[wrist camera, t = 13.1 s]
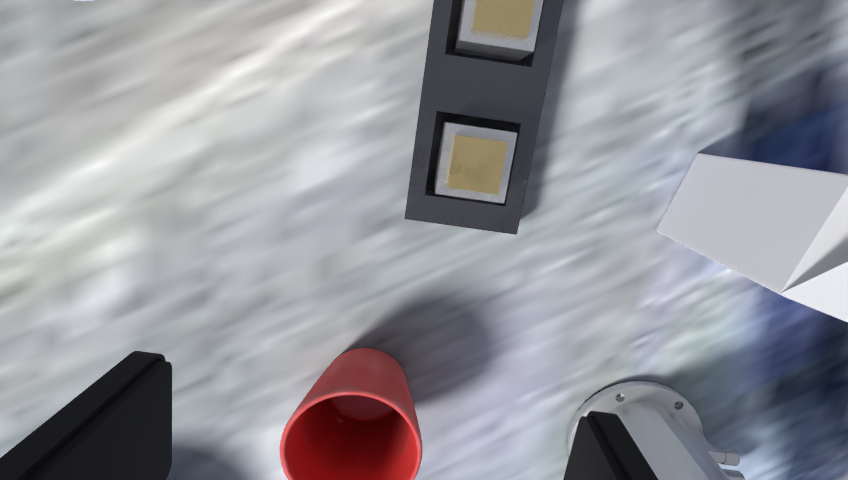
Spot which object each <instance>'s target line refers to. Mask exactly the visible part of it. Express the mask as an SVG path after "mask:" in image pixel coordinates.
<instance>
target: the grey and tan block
mask: <svg viewBox="0 0 848 480" xmlns="http://www.w3.org/2000/svg"><path fill="white" fill-rule="evenodd" d="M542 5H543V0H462V5H461V12H460V18H459V25H458V32H457V38H456V45H455V52H459V53H466V54H472V55H479V56H485V57H492V58H499V59H505V60H512V61H519V60H520V59H522V58H524V57H525V56H527V55H529V54H530V53H532V52H534V47H535V42H536V37H537V31H538V26H539V21H540V16H541V10H542Z"/></svg>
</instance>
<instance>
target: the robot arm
mask: <svg viewBox="0 0 848 480" xmlns="http://www.w3.org/2000/svg"><path fill="white" fill-rule="evenodd" d="M567 450H568V455H569V460H568V464H567V468H566V471H565V475H564V479H563V480H745V478H744V476H743V474H742V473H741V472H739V471H735V470H727V469H722V468H721V467H720V466H719V465H718V464H717V463H721V464H724V465H732V466H737V465H738V464H739V462H740V458H739V454H738V452H737V451H736V450H733V449H726V448H713V446H712V445H710V443H709V442H708V441H707V440H706V439H705V437H704V436H703V427H702V424H701V420H700V418H699V416H698V414H697V412H696V411H695V409H694V408H693V407H692V405H691V404H690V403H689V402H688V401H687V400H686V399H685V398H684V397H683V396H682V395H681V394H679V393H678V392H677V391H675V390H673V389H671V388H669V387H668V386H665V385H661V384H658V383H654V382H647V381H630V382H625V383H621V384H616V385H614V386H611V387H609V388H606V389H604V390H602V391H601V392H599V393H597V394H595V395H594V396H593V397H591V398H590V399H589V400H588V401H587V402H585V403H584V404H583V406H582V407H581V408H580V409H579V410H578V412H577V413H576V415H575V416H574V418H573V420H572V422H571V424H570V427H569V431H568V435H567ZM171 463H172V365H171V363H170V362H166V361H165V357H164V356H163V355H162V354H156V353H149V352H141V351H134V352H132V353H131V354H129V355H128V356H127V357H126V358H124V359H123V360H122V361H121V362H119V363H118V364H117V365H116V366H115V367H113V368H112V369H111V370H110V371H108V372H107V373H106V374H105V375H103V376H102V377H101V378H100V379H98V380H97V381H96V382H95V383H93V384H92V385H91V386H90V387H88V388H87V389H86V390H85V391H83V392H82V393H81V394H80V395H78V396H77V397H76V398H75V399H73V400H72V401H71V402H70V403H68V404H67V405H66V406H65V407H63V408H62V409H61V410H60V411H58V412H57V413H56V414H55V415H53V416H52V417H51V418H50V419H48V420H47V421H46V422H45V423H43V424H42V425H41V426H40V427H38V428H37V429H36V430H35V431H33V432H32V433H31V434H30V435H28V436H27V437H26V438H25V439H24V440H22V441H21V442H20V443H19V444H17V445H16V446H15V447H14V448H12V449H11V450H10V451H9V452H7V453H6V454H5V455H4V456H2V457H1V458H0V480H166V478H167V476H168V474H169V471H170V468H171Z"/></svg>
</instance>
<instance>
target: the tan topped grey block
mask: <svg viewBox="0 0 848 480" xmlns="http://www.w3.org/2000/svg"><path fill="white" fill-rule="evenodd" d="M516 138H517V133H515V132H510V131H506V130H500V129H493V128H486V127H479V126H472V125H465V124H459V123H452V122H445V121H443V127H442V134H441V141H440V148H439V154H438V161H437V168H436V175H435V181H434V183H435V194H441V195H448V196H455V197H462V198H469V199H476V200H483V201H490V202H497V203H504V201H505V196H506V191H507V185H508V180H509V175H510V169H511V164H512V159H513V153H514V148H515V143H516Z"/></svg>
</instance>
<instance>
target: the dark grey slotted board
mask: <svg viewBox="0 0 848 480" xmlns="http://www.w3.org/2000/svg"><path fill="white" fill-rule="evenodd" d="M452 1H453V0H434V4H433V11H432V19H431V26H430V34H429V41H428V48H427V56H426V63H425V71H424V78H423V86H422V93H421V101H420V108H419V116H418V123H417V130H416V138H415V145H414V153H413V160H412V168H411V175H410V183H409V190H408V198H407V205H406V212H405V219H409V220H417V221H424V222H431V223H438V224H445V225H452V226H459V227H466V228H473V229H481V230H488V231H495V232H502V233H509V234H516V235H517V231H518V226H519V221H520V216H521V210H522V205H523V200H524V195H525V190H526V185H527V180H528V175H529V170H530V165H531V160H532V155H533V150H534V145H535V140H536V135H537V130H538V125H539V120H540V115H541V110H542V105H543V100H544V95H545V90H546V85H547V80H548V75H549V70H550V65H551V60H552V55H553V50H554V45H555V40H556V35H557V30H558V25H559V20H560V15H561V10H562V4H563V0H543V5H542V10H541V16H540V21H539V26H538V31H537V37H536V42H535V47H534V52H532V53H530V54H529V55H527V57H526V62H525V66H520V65H514V64H507V63H500V62H494V61H487V60H480V59H474V58H467V57H461V56H454V55H447V54H445V50H446V43H447V36H448V29H449V22H450V15H451V8H452ZM437 111H438V112H445V113H452V114H459V115H466V116H472V117H479V118H486V119H493V120H500V121H507V122H513V123H514V127H513V132H515V133H517V138H516V143H515V148H514V153H513V159H512V164H511V169H510V175H509V180H508V185H507V191H506V196H505V201H504V203H497V202H490V201H483V200H476V199H469V198H462V197H455V196H448V195H441V194H435V191H434V190H427V189H426V182H427V175H428V168H429V161H430V154H431V147H432V140H433V133H434V127H435V120H436V113H437Z"/></svg>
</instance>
